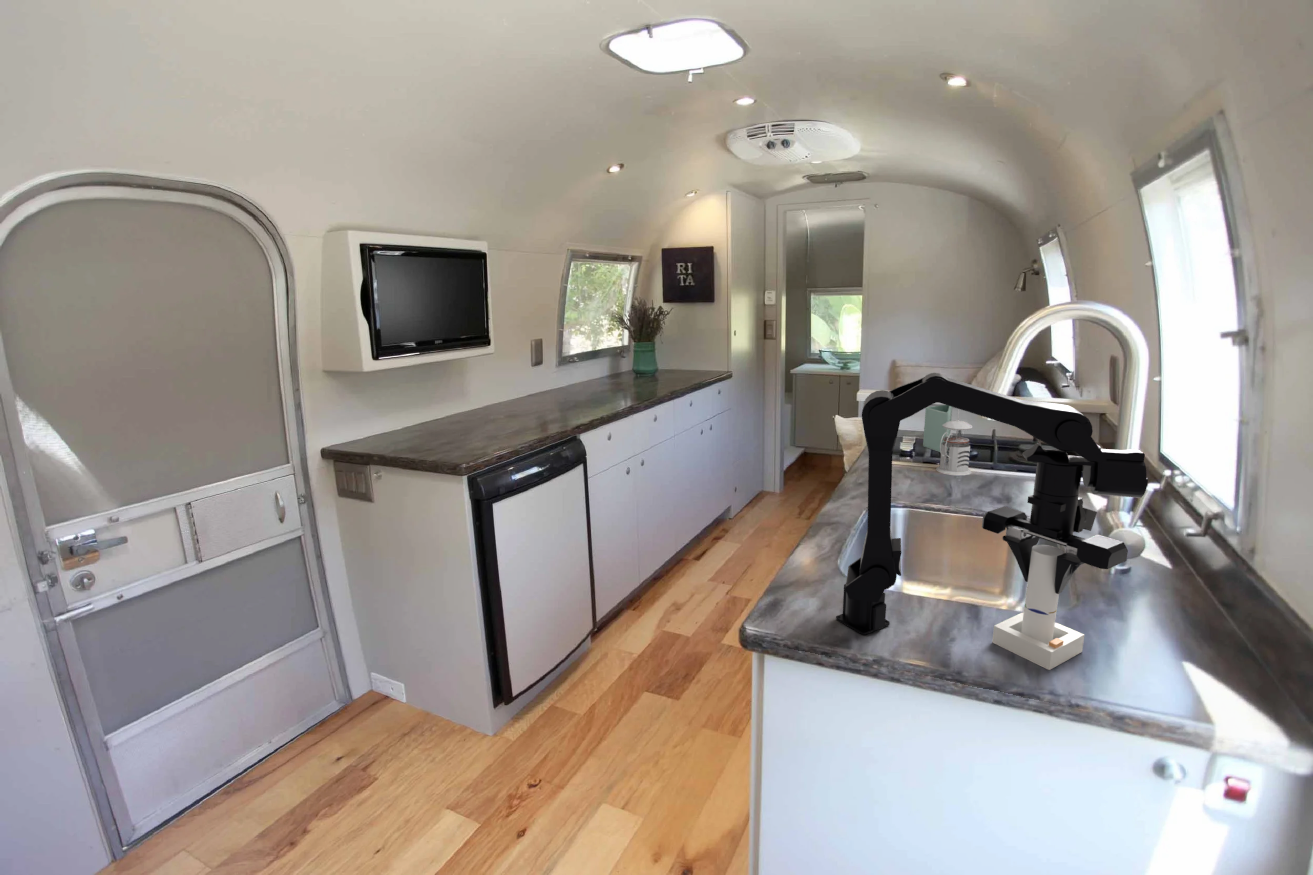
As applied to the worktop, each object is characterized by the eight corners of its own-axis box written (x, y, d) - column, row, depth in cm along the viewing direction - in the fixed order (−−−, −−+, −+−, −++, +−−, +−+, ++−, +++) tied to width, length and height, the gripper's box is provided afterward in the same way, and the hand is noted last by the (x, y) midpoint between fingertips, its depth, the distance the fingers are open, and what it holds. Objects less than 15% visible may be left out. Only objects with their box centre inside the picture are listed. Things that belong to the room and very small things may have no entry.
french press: (978, 471, 193) (986, 388, 187) (956, 478, 187) (963, 393, 181) (947, 464, 201) (954, 384, 195) (925, 471, 195) (931, 388, 189)
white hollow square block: (992, 642, 104) (994, 622, 103) (1025, 626, 108) (1027, 607, 108) (1049, 670, 96) (1052, 648, 96) (1082, 651, 101) (1085, 631, 100)
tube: (1041, 630, 104) (1053, 544, 101) (1058, 645, 100) (1071, 555, 97) (1015, 632, 104) (1026, 545, 101) (1031, 646, 100) (1043, 556, 96)
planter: (925, 440, 230) (929, 385, 225) (949, 442, 226) (954, 386, 222) (920, 451, 216) (924, 393, 211) (946, 454, 212) (951, 394, 207)
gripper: (1154, 498, 92) (1137, 598, 96) (1026, 467, 108) (1015, 554, 112) (1114, 513, 87) (1097, 618, 91) (984, 478, 103) (975, 569, 106)
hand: (1043, 587), depth 100 cm, fingers closed on tube, 4 cm apart
